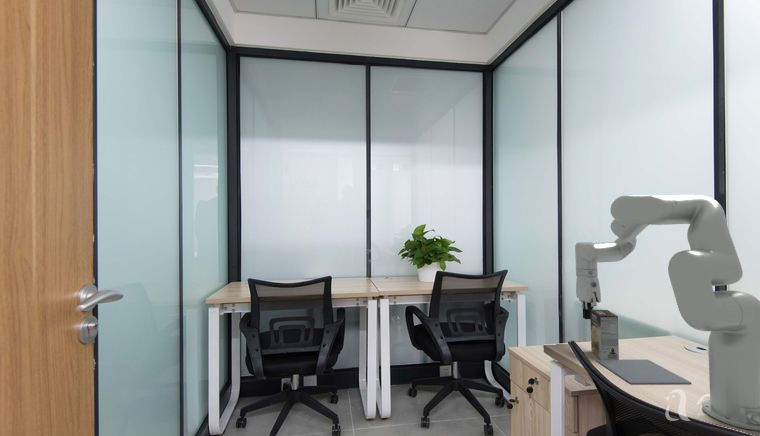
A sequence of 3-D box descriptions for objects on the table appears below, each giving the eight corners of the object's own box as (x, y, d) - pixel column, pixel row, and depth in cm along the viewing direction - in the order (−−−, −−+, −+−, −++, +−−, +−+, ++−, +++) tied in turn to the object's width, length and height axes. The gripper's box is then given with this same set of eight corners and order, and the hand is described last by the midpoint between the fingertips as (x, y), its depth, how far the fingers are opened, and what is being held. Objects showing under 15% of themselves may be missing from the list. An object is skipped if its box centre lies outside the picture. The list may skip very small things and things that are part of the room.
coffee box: (590, 351, 134) (589, 309, 134) (608, 351, 133) (607, 309, 133) (600, 360, 125) (599, 315, 125) (620, 361, 124) (618, 315, 124)
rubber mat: (691, 384, 106) (691, 382, 106) (630, 384, 106) (630, 382, 106) (647, 360, 124) (647, 359, 124) (596, 361, 124) (596, 359, 124)
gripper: (607, 275, 132) (609, 323, 132) (585, 270, 147) (587, 313, 147) (587, 275, 133) (589, 324, 132) (567, 270, 148) (569, 314, 147)
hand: (588, 318), depth 140 cm, fingers closed
